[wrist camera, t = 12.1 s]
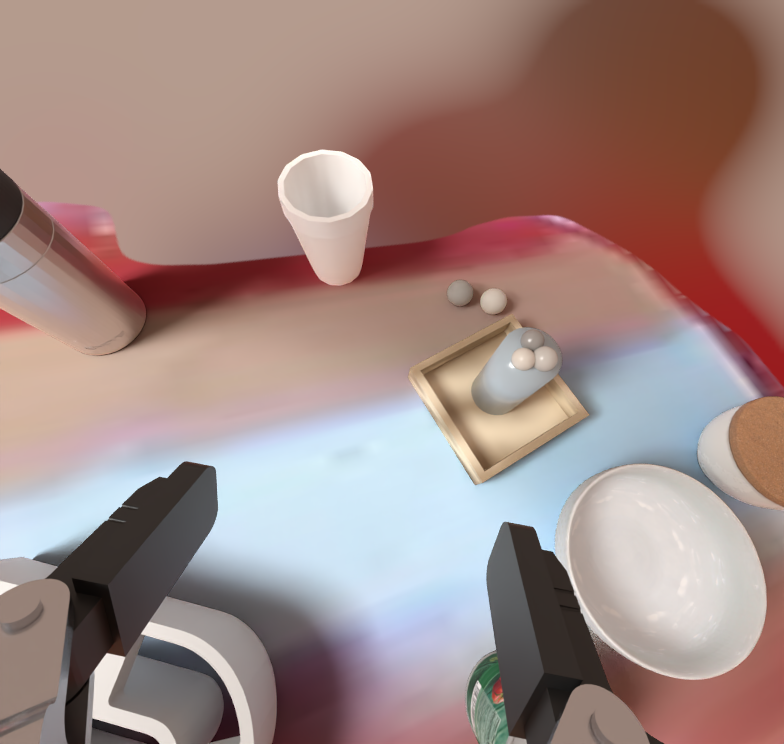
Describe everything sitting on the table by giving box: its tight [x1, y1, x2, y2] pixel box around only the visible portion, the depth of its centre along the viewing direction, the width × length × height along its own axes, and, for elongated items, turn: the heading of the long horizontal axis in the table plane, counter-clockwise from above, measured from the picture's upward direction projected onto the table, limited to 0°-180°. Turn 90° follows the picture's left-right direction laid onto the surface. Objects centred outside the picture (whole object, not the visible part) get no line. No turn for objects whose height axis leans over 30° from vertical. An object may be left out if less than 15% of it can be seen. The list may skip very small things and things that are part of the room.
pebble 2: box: [480, 288, 507, 314], centre depth 47 cm, size 3×3×3 cm
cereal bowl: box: [555, 464, 767, 680], centre depth 36 cm, size 17×17×7 cm
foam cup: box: [278, 150, 373, 286], centre depth 44 cm, size 10×9×13 cm
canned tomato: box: [465, 651, 527, 744], centre depth 29 cm, size 8×8×11 cm
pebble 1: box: [447, 280, 473, 306], centre depth 47 cm, size 3×3×3 cm
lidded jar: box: [697, 397, 784, 510], centre depth 38 cm, size 11×11×9 cm
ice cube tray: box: [0, 557, 277, 744], centre depth 29 cm, size 17×28×9 cm, turn 77°
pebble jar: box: [471, 327, 562, 415], centre depth 38 cm, size 5×5×13 cm
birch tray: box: [408, 314, 589, 485], centre depth 43 cm, size 14×14×3 cm
